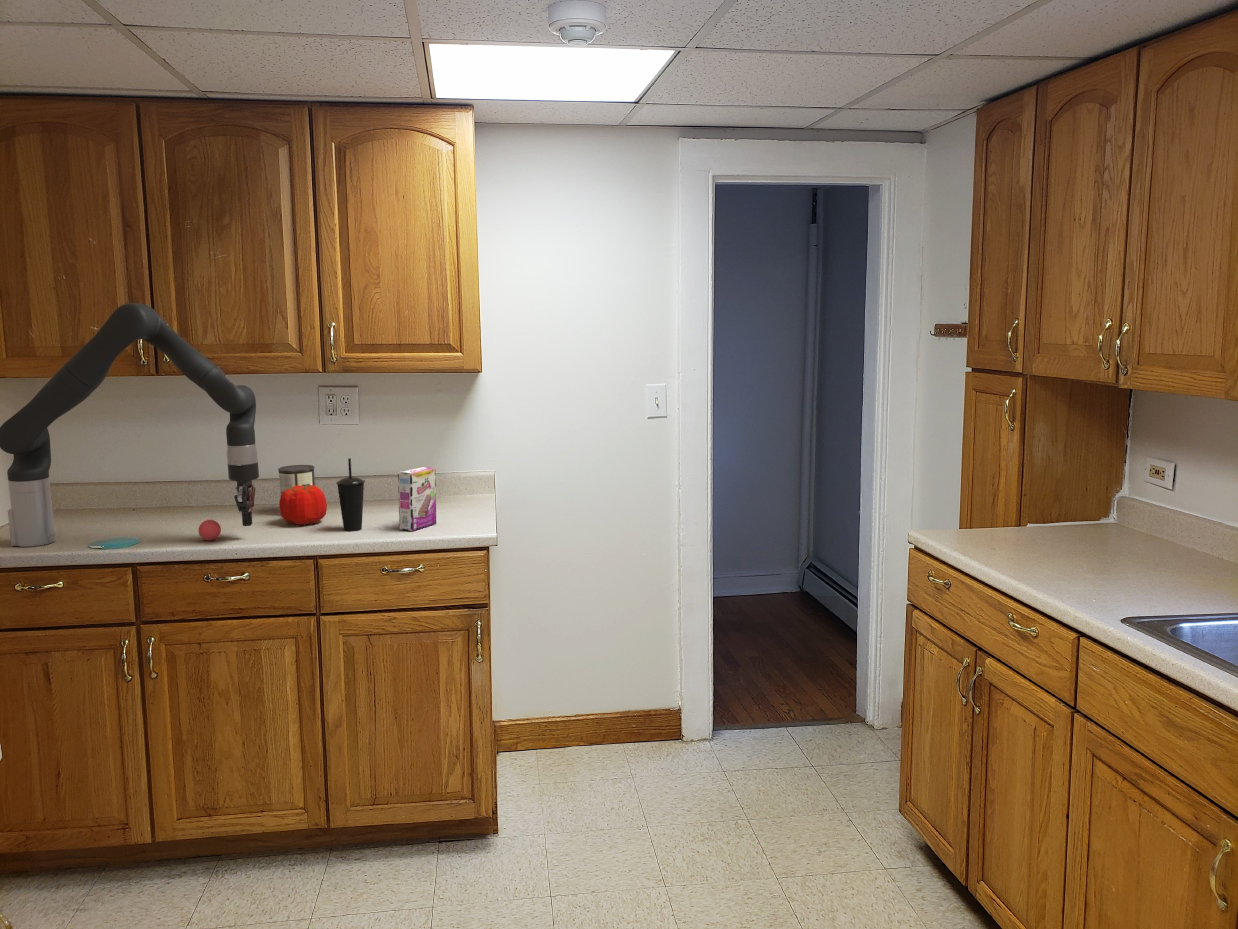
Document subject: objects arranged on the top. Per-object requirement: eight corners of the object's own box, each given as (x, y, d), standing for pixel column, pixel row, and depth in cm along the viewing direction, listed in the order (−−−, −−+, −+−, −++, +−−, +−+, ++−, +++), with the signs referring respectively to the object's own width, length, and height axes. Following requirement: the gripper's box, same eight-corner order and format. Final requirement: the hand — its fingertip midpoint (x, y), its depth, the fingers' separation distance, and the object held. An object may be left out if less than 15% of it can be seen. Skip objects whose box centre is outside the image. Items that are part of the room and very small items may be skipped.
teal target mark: (80, 550, 243) (80, 549, 243) (99, 539, 254) (99, 538, 254) (130, 548, 244) (130, 547, 244) (146, 537, 256) (146, 536, 256)
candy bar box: (413, 532, 261) (411, 473, 258) (398, 530, 263) (396, 472, 261) (438, 524, 271) (436, 467, 268) (423, 522, 273) (421, 466, 271)
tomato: (287, 518, 280) (285, 483, 278) (333, 517, 280) (331, 482, 279) (273, 528, 266) (271, 491, 264) (321, 527, 267) (319, 491, 265)
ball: (196, 543, 250) (195, 522, 249) (202, 538, 255) (201, 518, 254) (218, 542, 250) (217, 521, 249) (224, 537, 256) (222, 517, 255)
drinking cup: (365, 531, 261) (362, 460, 258) (337, 533, 260) (333, 461, 257) (368, 525, 269) (365, 456, 266) (340, 527, 268) (336, 456, 264)
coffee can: (294, 509, 293) (291, 464, 290) (323, 510, 290) (321, 465, 288) (273, 516, 283) (270, 469, 281) (304, 517, 280) (301, 470, 278)
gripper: (234, 458, 257) (239, 520, 259) (221, 465, 244) (226, 531, 246) (263, 457, 258) (267, 519, 260) (251, 464, 245) (256, 530, 247)
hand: (247, 525), depth 253 cm, fingers closed
